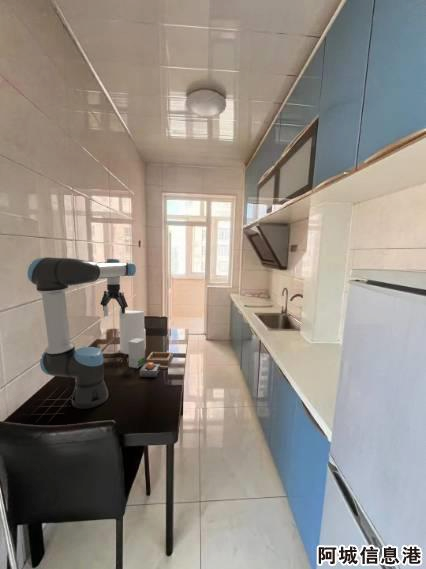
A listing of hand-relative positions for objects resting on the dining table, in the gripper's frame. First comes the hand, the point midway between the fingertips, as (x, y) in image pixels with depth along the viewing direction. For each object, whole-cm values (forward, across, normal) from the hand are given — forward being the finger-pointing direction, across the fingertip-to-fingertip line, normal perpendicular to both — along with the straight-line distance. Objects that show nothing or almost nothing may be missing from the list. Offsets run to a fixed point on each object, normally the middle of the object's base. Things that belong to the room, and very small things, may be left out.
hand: (114, 317), depth 160 cm
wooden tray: (+27, -28, -10) cm, 40 cm away
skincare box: (+27, -19, +1) cm, 33 cm away
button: (+25, -33, +6) cm, 42 cm away
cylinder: (+27, +1, -18) cm, 33 cm away
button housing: (+27, -33, +6) cm, 43 cm away
